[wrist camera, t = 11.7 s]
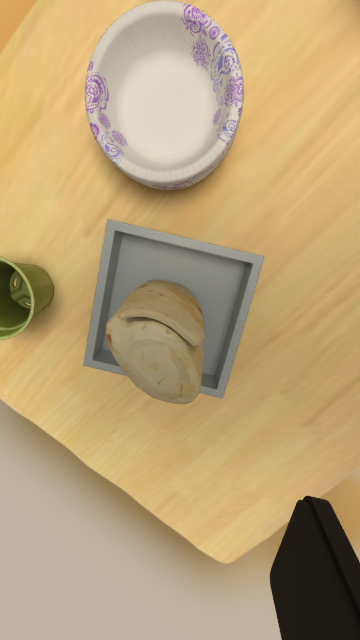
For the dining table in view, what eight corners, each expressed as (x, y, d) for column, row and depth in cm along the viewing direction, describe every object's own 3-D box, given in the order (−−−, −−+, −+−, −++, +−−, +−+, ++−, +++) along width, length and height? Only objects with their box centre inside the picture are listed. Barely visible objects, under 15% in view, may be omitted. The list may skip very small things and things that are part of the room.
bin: (256, 254, 40) (264, 256, 35) (219, 381, 45) (222, 398, 40) (118, 221, 40) (107, 218, 35) (95, 351, 44) (83, 365, 40)
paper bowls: (79, 114, 37) (49, 81, 30) (181, 15, 34) (177, -49, 27) (159, 220, 40) (150, 215, 32) (260, 136, 37) (277, 109, 29)
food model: (130, 295, 41) (72, 344, 22) (167, 260, 40) (140, 279, 21) (181, 348, 43) (168, 437, 23) (218, 316, 42) (237, 382, 22)
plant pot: (-7, 310, 44) (-55, 326, 35) (2, 242, 41) (-47, 243, 33) (59, 328, 44) (26, 349, 36) (71, 262, 42) (40, 268, 33)
